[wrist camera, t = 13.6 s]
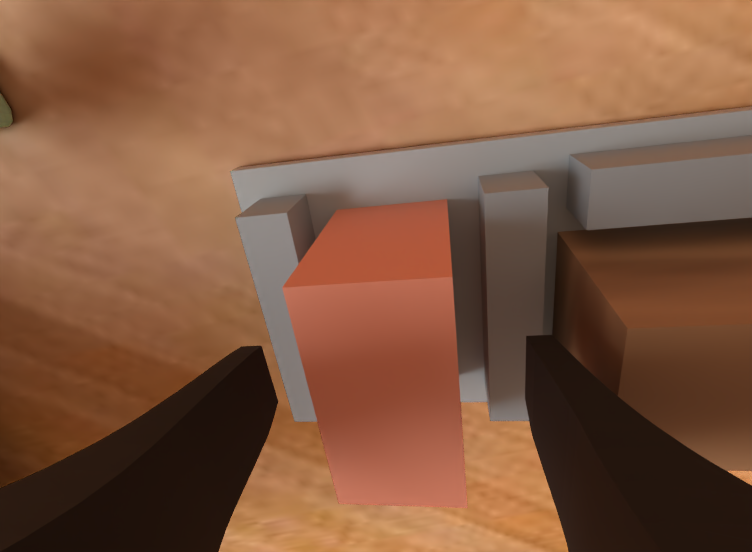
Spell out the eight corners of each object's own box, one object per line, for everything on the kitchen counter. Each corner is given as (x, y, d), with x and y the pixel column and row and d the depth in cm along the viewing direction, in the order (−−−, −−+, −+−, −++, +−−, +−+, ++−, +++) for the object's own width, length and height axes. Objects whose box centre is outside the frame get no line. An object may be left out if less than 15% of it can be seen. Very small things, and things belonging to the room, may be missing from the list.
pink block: (458, 375, 16) (467, 507, 11) (367, 377, 17) (338, 503, 12) (446, 198, 13) (452, 276, 8) (336, 209, 14) (282, 287, 9)
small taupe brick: (813, 327, 14) (1025, 475, 9) (551, 337, 15) (607, 468, 10) (858, 208, 12) (1153, 309, 7) (557, 231, 13) (627, 328, 8)
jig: (797, 386, 15) (862, 444, 13) (300, 394, 19) (280, 440, 16) (911, 87, 11) (1037, 93, 9) (237, 167, 14) (199, 186, 12)
